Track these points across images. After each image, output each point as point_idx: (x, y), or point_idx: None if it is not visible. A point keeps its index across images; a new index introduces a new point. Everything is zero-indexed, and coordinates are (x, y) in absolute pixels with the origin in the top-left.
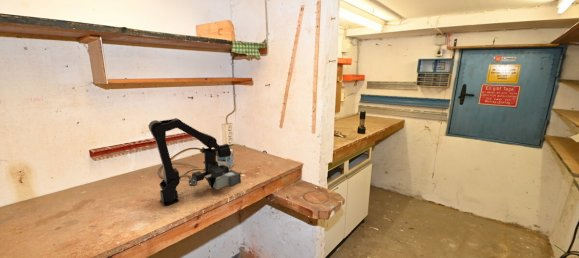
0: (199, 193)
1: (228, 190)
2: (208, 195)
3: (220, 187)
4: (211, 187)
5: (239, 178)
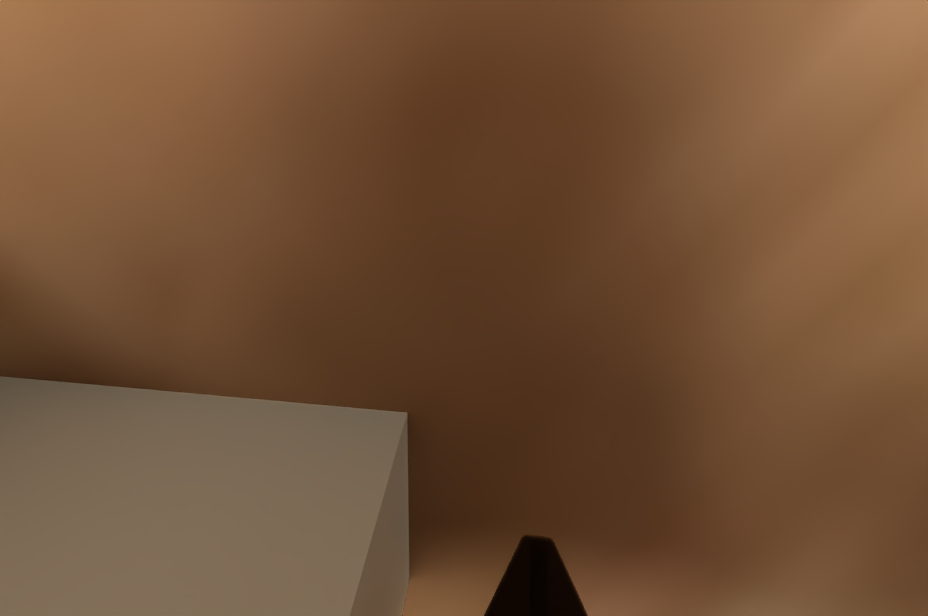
0: (909, 578)
1: (108, 5)
2: (913, 285)
3: (265, 413)
4: (559, 565)
5: None
